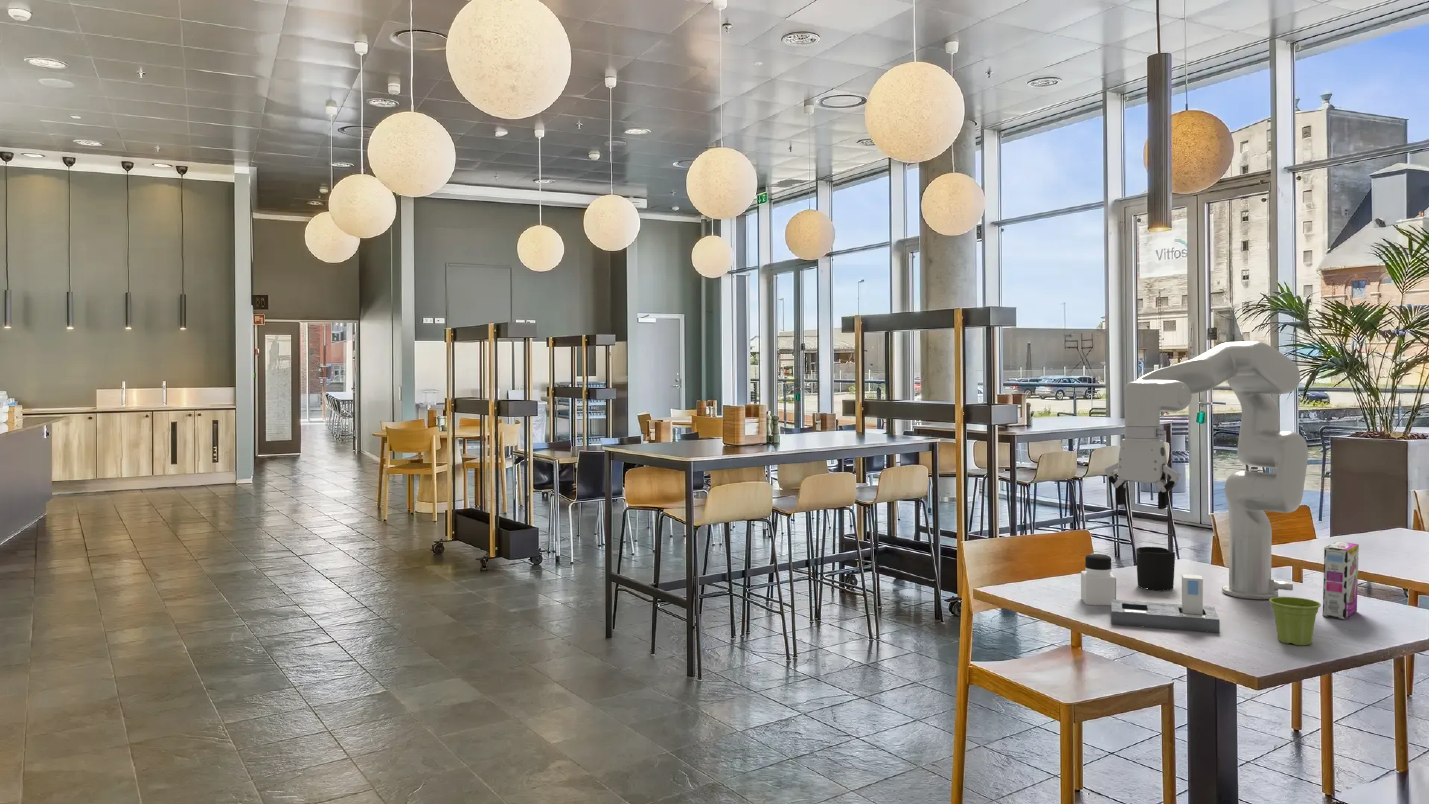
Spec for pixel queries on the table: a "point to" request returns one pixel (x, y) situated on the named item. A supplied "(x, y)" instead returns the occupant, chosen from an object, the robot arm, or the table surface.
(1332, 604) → the candy bar box
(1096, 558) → the medicine bottle
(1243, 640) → the table surface
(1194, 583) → the plug
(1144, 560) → the pen holder
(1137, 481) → the robot arm
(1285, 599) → the plant pot
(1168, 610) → the jack panel
